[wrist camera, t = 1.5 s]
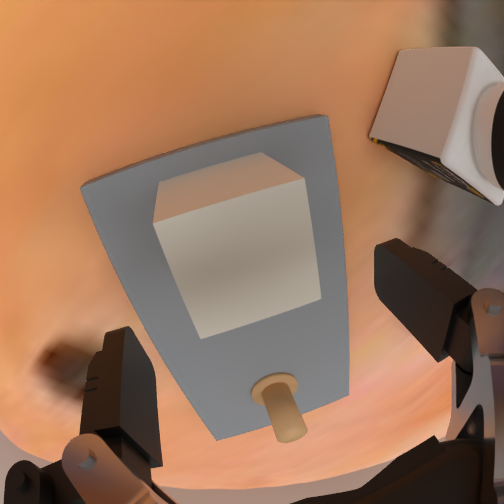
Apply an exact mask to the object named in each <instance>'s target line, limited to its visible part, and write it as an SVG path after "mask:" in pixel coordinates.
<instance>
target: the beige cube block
mask: <svg viewBox="0 0 504 504" xmlns="http://www.w3.org/2000/svg"><path fill="white" fill-rule="evenodd" d="M153 226H154V228H155V231H156V234H157V236H158V239H159V242H160V244H161V247H162V249H163V252H164V254H165V257H166V259H167V262H168V264H169V267H170V269H171V272H172V274H173V277H174V279H175V282H176V284H177V286H178V289H179V291H180V294H181V296H182V298H183V301H184V303H185V305H186V308H187V310H188V312H189V315H190V317H191V319H192V321H193V324H194V326H195V328H196V330H197V333H198V335H199V337H200V339H203V338H206V337H210V336H213V335H216V334H219V333H223V332H226V331H229V330H232V329H235V328H238V327H242V326H245V325H248V324H251V323H254V322H257V321H260V320H263V319H266V318H269V317H272V316H275V315H278V314H281V313H283V312H286V311H289V310H292V309H295V308H298V307H300V306H303V305H306V304H309V303H312V302H314V301H317V300H320V299H321V290H320V282H319V274H318V266H317V258H316V251H315V243H314V236H313V229H312V222H311V215H310V209H309V202H308V196H307V190H306V184H305V178H303V177H302V176H300V175H299V174H297V173H295V172H294V171H292V170H290V169H289V168H287V167H285V166H284V165H282V164H281V163H279V162H277V161H275V160H274V159H272V158H270V157H269V156H267V155H265V154H264V153H262V152H259V153H256V154H252V155H248V156H244V157H241V158H237V159H233V160H230V161H226V162H223V163H219V164H216V165H212V166H209V167H205V168H202V169H199V170H195V171H192V172H189V173H186V174H183V175H179V176H176V177H173V178H170V179H167V180H164V181H161V182H159V184H158V190H157V197H156V204H155V211H154V218H153Z"/></svg>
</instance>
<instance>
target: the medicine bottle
mask: <svg viewBox="0 0 504 504" xmlns="http://www.w3.org/2000/svg"><path fill="white" fill-rule="evenodd" d="M369 137H370V139H371V140H372V141H373V142H375V143H377V144H379V145H380V146H382V147H384V148H386V149H388V150H390V151H391V152H393V153H395V154H397V155H398V156H400V157H402V158H404V159H405V160H407V161H409V162H410V163H412V164H414V165H415V166H417V167H419V168H420V169H422V170H424V171H425V172H427V173H428V174H430V175H432V176H434V177H436V178H438V179H441V180H443V181H445V182H448V183H450V184H452V185H455V186H457V187H459V188H461V189H463V190H466V191H468V192H470V193H472V194H474V195H476V196H478V197H480V198H482V199H484V200H487V201H489V202H491V203H493V204H495V205H500V204H502V201H503V199H504V77H503V76H502V74H501V73H500V72H499V71H498V69H497V68H496V67H495V66H494V64H493V63H492V62H491V61H490V60H489V59H488V57H487V56H486V55H485V54H484V53H483V52H482V51H481V50H480V49H479V48H478V47H431V48H415V49H403V50H400V51H399V53H398V56H397V59H396V62H395V65H394V68H393V71H392V74H391V76H390V79H389V82H388V85H387V88H386V91H385V94H384V96H383V99H382V102H381V105H380V107H379V110H378V113H377V115H376V118H375V121H374V123H373V126H372V129H371V131H370V134H369Z"/></svg>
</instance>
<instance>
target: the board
mask: <svg viewBox="0 0 504 504" xmlns="http://www.w3.org/2000/svg"><path fill="white" fill-rule="evenodd" d="M259 152H262V153H264V154H265V155H267V156H269V157H270V158H272V159H274V160H275V161H277V162H279V163H281V164H282V165H284V166H285V167H287V168H289V169H290V170H292V171H294V172H295V173H297V174H299V175H300V176H302V177H303V178H305V184H306V190H307V196H308V202H309V209H310V215H311V222H312V229H313V236H314V243H315V251H316V258H317V266H318V274H319V282H320V290H321V299H320V300H317V301H314V302H312V303H309V304H306V305H303V306H300V307H298V308H295V309H292V310H289V311H286V312H283V313H281V314H278V315H275V316H272V317H269V318H266V319H263V320H260V321H257V322H254V323H251V324H248V325H245V326H242V327H238V328H235V329H232V330H229V331H226V332H223V333H219V334H216V335H213V336H210V337H206V338H203V339H200V337H199V335H198V333H197V330H196V328H195V326H194V324H193V321H192V319H191V317H190V315H189V312H188V310H187V308H186V305H185V303H184V301H183V298H182V296H181V294H180V291H179V289H178V286H177V284H176V282H175V279H174V277H173V274H172V272H171V269H170V267H169V264H168V262H167V259H166V257H165V254H164V252H163V249H162V247H161V244H160V242H159V239H158V236H157V234H156V231H155V228H154V226H153V218H154V211H155V204H156V197H157V190H158V184H159V182H161V181H164V180H167V179H170V178H173V177H176V176H179V175H183V174H186V173H189V172H192V171H195V170H199V169H202V168H205V167H209V166H212V165H216V164H219V163H223V162H226V161H230V160H233V159H237V158H241V157H244V156H248V155H252V154H256V153H259ZM80 190H81V192H82V195H83V198H84V200H85V203H86V205H87V208H88V210H89V213H90V215H91V218H92V220H93V222H94V225H95V227H96V230H97V232H98V234H99V236H100V239H101V241H102V243H103V246H104V248H105V250H106V252H107V254H108V257H109V259H110V261H111V263H112V265H113V267H114V269H115V271H116V274H117V276H118V278H119V280H120V282H121V284H122V286H123V288H124V290H125V292H126V294H127V296H128V298H129V300H130V302H131V303H132V305H133V307H134V309H135V311H136V313H137V315H138V317H139V319H140V320H141V322H142V324H143V326H144V328H145V329H146V331H147V333H148V335H149V337H150V338H151V340H152V342H153V344H154V345H155V347H156V349H157V351H158V352H159V354H160V356H161V357H162V359H163V361H164V362H165V364H166V366H167V367H168V369H169V371H170V372H171V374H172V375H173V377H174V379H175V380H176V382H177V383H178V385H179V387H180V388H181V390H182V391H183V393H184V394H185V396H186V397H187V399H188V400H189V402H190V403H191V405H192V406H193V408H194V409H195V411H196V412H197V414H198V415H199V417H200V418H201V420H202V421H203V422H204V424H205V425H206V427H207V428H208V430H209V431H210V432H211V434H212V435H213V436H214V438H215V439H216V441H218V440H221V439H225V438H229V437H233V436H236V435H240V434H243V433H247V432H250V431H253V430H257V429H260V428H263V427H266V426H269V425H272V427H273V429H274V432H275V435H276V438H277V440H278V441H279V442H281V443H288V442H293V441H295V440H298V439H300V438H301V437H303V436H304V435H305V434H306V433H307V430H308V429H307V427H306V425H305V422H304V420H303V418H302V416H301V414H304V413H306V412H309V411H312V410H314V409H317V408H319V407H322V406H324V405H327V404H329V403H332V402H334V401H337V400H339V399H341V398H344V397H346V396H348V395H349V323H348V297H347V279H346V263H345V250H344V238H343V227H342V217H341V207H340V198H339V189H338V181H337V173H336V166H335V159H334V152H333V145H332V138H331V132H330V126H329V120H328V116H326V115H319V114H318V115H313V116H308V117H303V118H298V119H293V120H288V121H283V122H278V123H274V124H269V125H265V126H261V127H257V128H252V129H248V130H244V131H240V132H236V133H233V134H229V135H225V136H221V137H218V138H214V139H210V140H207V141H203V142H200V143H197V144H193V145H190V146H186V147H183V148H180V149H177V150H174V151H170V152H167V153H164V154H161V155H158V156H155V157H152V158H149V159H146V160H143V161H141V162H138V163H135V164H132V165H129V166H127V167H124V168H121V169H118V170H116V171H113V172H110V173H108V174H105V175H103V176H100V177H98V178H95V179H93V180H90V181H88V182H85V183H84V184H83V185H82V186H81V187H80Z"/></svg>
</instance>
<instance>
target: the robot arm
mask: <svg viewBox="0 0 504 504" xmlns="http://www.w3.org/2000/svg"><path fill="white" fill-rule="evenodd" d="M374 286H375V290H376V293H377V296H378V297H379V299H380V300H381V302H382V303H383V304H384V305H385V306H386V307H387V308H388V309H389V310H390V311H391V312H392V313H393V314H394V315H395V316H396V317H397V318H398V320H399V321H400V322H401V323H402V324H403V325H404V326H405V327H406V328H407V329H408V330H409V331H410V332H411V334H412V335H413V336H414V337H415V338H416V339H417V340H418V341H419V342H420V343H421V344H422V346H423V347H424V348H425V349H426V350H427V351H428V352H429V353H430V354H431V356H432V357H433V358H434V359H435V360H436V361H437V362H440V361H442V360H443V359H445V358H446V357H448V356H451V357H452V359H453V362H452V367H451V370H452V410H451V419H450V423H449V427H448V430H447V434H446V440H445V441H444V442H440V443H439V441H438V440H437V438H436V437H435V435H434V436H432V437H431V438H429V439H427V440H426V441H424V442H423V443H421V444H419V445H418V446H416V447H414V448H413V449H411V450H409V451H407V452H406V453H404V454H402V455H400V456H399V457H397V458H396V459H395V460H394V461H392V462H391V463H390V464H389V465H388V466H387V467H386V468H384V469H383V470H382V471H381V472H380V473H379V474H377V475H376V476H375V477H374V478H372V479H371V480H370V481H369V482H367V483H366V484H365V485H364V486H362V487H361V488H358V489H355V490H352V491H346V492H341V493H336V494H330V495H324V496H318V497H310V498H306V499H303V500H300V501H297V502H294V503H291V504H504V293H503V292H502V291H500V290H497V289H492V288H484V289H480V290H477V289H475V288H474V287H473V286H472V285H470V284H469V283H468V282H466V281H465V280H464V279H463V278H461V277H460V276H459V275H457V274H456V273H455V272H453V271H452V270H451V269H449V268H447V267H446V266H445V265H444V264H443V263H441V262H438V260H437V259H436V258H435V257H433V256H432V255H430V254H429V253H428V252H425V251H422V250H420V249H417V248H414V247H412V248H411V247H410V246H408V245H407V244H406V243H404V242H403V241H401V240H400V239H398V238H394V239H392V240H389V241H386V242H383V243H381V244H378V245H376V247H375V250H374ZM86 379H87V382H86V385H85V392H86V393H84V399H83V407H82V415H81V424H80V434H79V436H77V437H75V438H73V439H72V440H71V441H70V442H69V443H68V444H67V446H66V447H65V449H64V451H63V454H62V459H61V460H59V461H57V462H55V463H52V464H50V465H48V466H45V467H43V468H41V469H40V468H39V467H37V466H36V465H35V464H33V463H32V462H30V461H26V460H22V461H19V462H17V463H15V464H14V465H13V466H12V467H11V468H10V470H9V471H8V474H7V476H6V481H5V492H4V504H178V503H177V502H176V501H175V500H174V499H173V498H172V497H170V496H169V495H168V494H167V493H166V492H165V491H164V490H163V489H161V488H160V487H159V486H158V485H157V484H156V483H155V482H154V481H153V480H152V479H151V469H150V468H156V467H162V466H163V462H162V453H161V444H160V433H159V421H158V408H157V392H156V376H155V371H154V368H153V365H152V363H151V361H150V359H149V357H148V356H147V354H146V352H145V351H144V349H143V347H142V346H141V344H140V342H139V341H138V339H137V337H136V336H135V334H134V332H133V330H132V329H131V328H130V327H129V326H127V327H123V328H120V329H116V330H113V331H109V332H106V333H105V336H104V343H103V349H102V351H99V352H96V353H95V355H94V357H93V359H92V360H91V362H90V364H89V366H88V372H87V378H86Z"/></svg>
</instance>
